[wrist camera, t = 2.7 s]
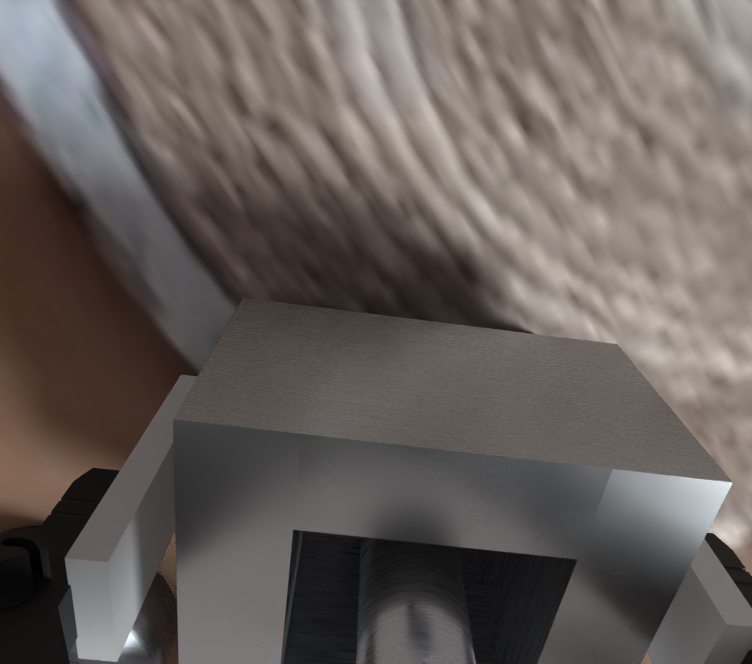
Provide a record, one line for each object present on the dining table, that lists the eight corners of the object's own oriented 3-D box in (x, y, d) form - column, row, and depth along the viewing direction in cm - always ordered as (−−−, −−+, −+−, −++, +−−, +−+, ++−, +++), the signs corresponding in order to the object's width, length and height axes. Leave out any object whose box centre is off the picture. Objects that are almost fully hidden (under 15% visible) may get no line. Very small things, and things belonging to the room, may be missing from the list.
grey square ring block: (243, 297, 13) (173, 418, 9) (617, 344, 14) (732, 483, 9) (233, 573, 17) (180, 756, 13) (526, 602, 18) (576, 789, 13)
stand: (300, 305, 16) (198, 617, 7) (535, 334, 16) (724, 668, 7) (284, 492, 19) (198, 882, 10) (485, 513, 19) (577, 910, 10)
